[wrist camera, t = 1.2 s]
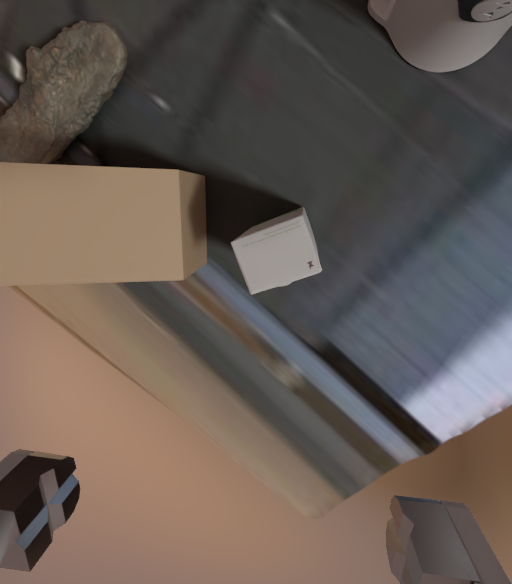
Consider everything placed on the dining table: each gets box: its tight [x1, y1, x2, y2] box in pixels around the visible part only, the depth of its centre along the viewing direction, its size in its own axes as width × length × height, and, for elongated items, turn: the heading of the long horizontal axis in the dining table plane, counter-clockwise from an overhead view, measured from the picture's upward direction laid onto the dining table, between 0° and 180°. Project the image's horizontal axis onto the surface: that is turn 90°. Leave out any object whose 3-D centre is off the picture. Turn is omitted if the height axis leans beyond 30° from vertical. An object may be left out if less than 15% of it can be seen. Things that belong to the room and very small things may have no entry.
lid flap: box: [0, 162, 184, 286], centre depth 35 cm, size 13×20×1 cm, turn 89°
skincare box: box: [231, 207, 322, 295], centre depth 39 cm, size 8×7×16 cm
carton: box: [179, 170, 207, 279], centre depth 44 cm, size 13×20×10 cm, turn 89°
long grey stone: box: [0, 21, 128, 164], centre depth 45 cm, size 35×5×10 cm
